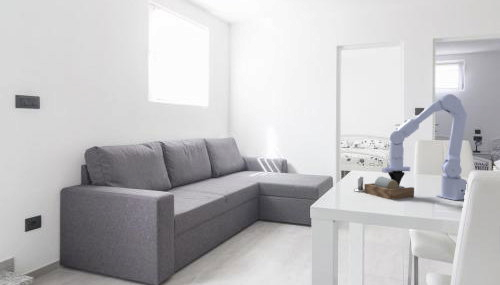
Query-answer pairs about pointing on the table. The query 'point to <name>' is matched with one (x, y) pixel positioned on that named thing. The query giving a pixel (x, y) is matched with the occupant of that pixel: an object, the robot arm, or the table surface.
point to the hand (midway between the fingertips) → (396, 187)
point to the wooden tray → (388, 192)
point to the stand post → (360, 185)
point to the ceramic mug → (386, 183)
